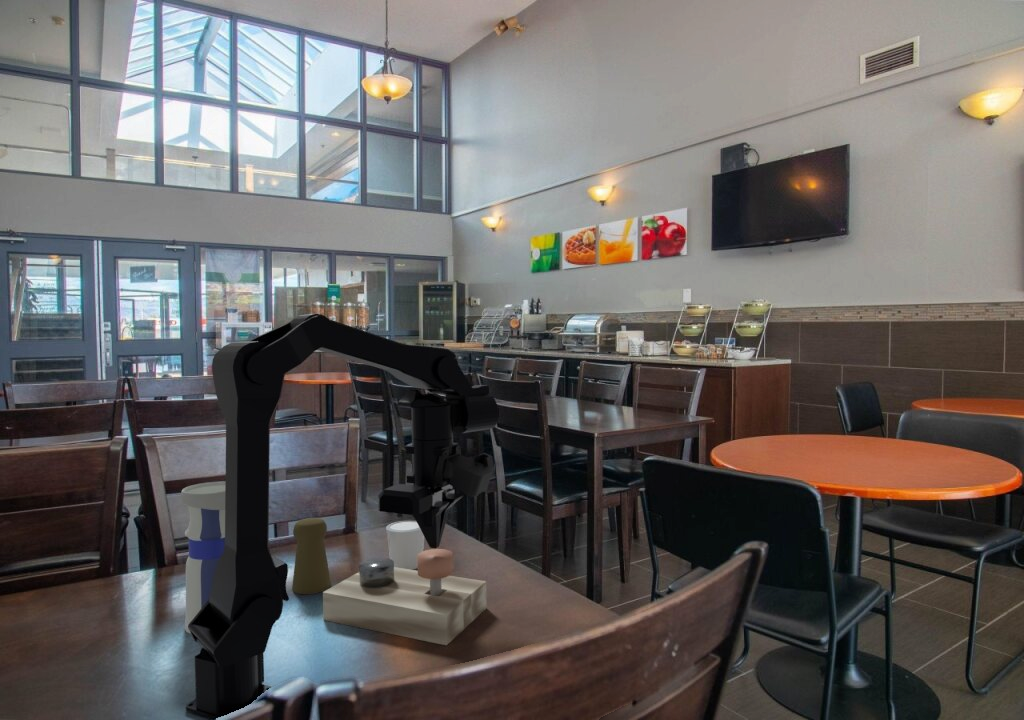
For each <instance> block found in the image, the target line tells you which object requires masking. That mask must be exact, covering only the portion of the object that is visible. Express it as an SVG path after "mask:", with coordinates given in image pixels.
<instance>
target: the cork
mask: <svg viewBox="0 0 1024 720" xmlns="http://www.w3.org/2000/svg"><path fill="white" fill-rule="evenodd" d="M327 530H328V527H327V523H326V521H325V519H323V518H320V517H307V518H303V519H302V518H301V519H300V520H298V521H297V522H295V524H294V525H293V529H292V533H293V534H292V535H293V538H294V540H295V541H296V548H295V550H296V551H295V560H294V567H293V576H292V577H293V579H292V586H291V590H292V592H293V593H295V594H299V595H311V594H312V595H313V594H316V593H320V592H321V593H322V592H324V591H326V590H328V589H330V588H331V585H332V583H331V577H330V570H329V563H328V557H327V551H326V547H325V546H326V545H325V537H326V536H327V532H328V531H327Z"/></svg>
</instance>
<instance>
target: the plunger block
mask: <svg viewBox="0 0 1024 720" xmlns="http://www.w3.org/2000/svg"><path fill="white" fill-rule="evenodd" d="M441 587H442V594H441V595H440V596H434V595H430V579H425V578H422V577H420V576H419V575H418V570H417V569H412V570H410V569H403V568H397V567H394V581H393V582H392V583H390V584H388V585H385V586H380V587H366V586H363V585H361V584H360V574H359V571H358V572H357V573H354V574H352V575H350V576H349V577H347V578H346V579H343V580H342V581H341V582H339V583H337V584H335V585H333V586H332V587H331V586H330V587H329V588H328V589H326V590H324V591H322V610H323V613H322V614H323V616H322V617H323V619H322V620H323V621H328V622H331V623H336V624H341V625H347V626H351V627H354V628H355V627H356V628H361V629H366V630H370V631H375V632H379V633H385V634H390V635H395V636H399V637H405V638H409V639H414V640H418V641H419V640H420V641H424V642H427V643H433V644H438V645H442V646H448V644H450V643H451V642H452V641H453V640H454V639H455V638H456V637H457V636H458V635H460V634H461V633H462V632H463V631H464V630H465V629H466V628H467V627H468V626H469V625H470V624H471V623H473V622H474V621H475V620H476V619H477V618H478V617H479V616H480V615H481V614H482V613H483V612H484V611H486V609H487V605H488V604H487V581H486V580H479V579H474V578H467V577H461V576H454V575H450V576H448V577H445V578H441Z"/></svg>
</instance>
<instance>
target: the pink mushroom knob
mask: <svg viewBox="0 0 1024 720" xmlns="http://www.w3.org/2000/svg"><path fill="white" fill-rule="evenodd" d="M417 565H418V568H417V571H418V575H419V576H420V577H422V578H425V579H430V595H434V596H440V595H441V594H442V587H441V578H445V577H448V576H452V575H453V573H454V553H453V552H452V551H451V550H449V549H443V548H436V549H435V548H430V549H425V550H423V551H422V552H420V553H419V554H418V555H417Z"/></svg>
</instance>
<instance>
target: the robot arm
mask: <svg viewBox="0 0 1024 720" xmlns="http://www.w3.org/2000/svg"><path fill="white" fill-rule="evenodd" d="M316 351H319V352H324V353H327V354H330V355H333V356H336V357H340V358H343V359H347V360H351V361H354V362H358V363H361V364H365V365H367V366H371V367H375V368H378V369H380V370H384V371H386V372H387V373H390V374H391V376H393V377H394V378H396V379H397V380H399V381H401V382H402V383H405V384H407V385H409V386H411V387H412V388H416V389H408V390H407V391H406V394H405V395H404V396H403V397H401V398H400V399H399V401H398V402H396V403H397V406H398V407H399V408H406V409H407V408H409V409H411V444H410V445H406V446H405V453H406V454H409V455H412V458H411V459H412V473H410V474H407V475H406V483H407V484H406V483H405V484H404V483H403V484H402V483H398V484H395V485H391V486H389V487H386V488H384V489H383V490H382V491H381V492H380V493H378V496H377V501H378V502H377V504H378V512H383V513H391V514H401V515H402V514H403V515H409V516H412V517H413V518H414V519H415V520H414V521H416V522H417V524H418V525H419V527H420V529H421V531H422V533H423V535H424V540H425V541H426V542H427V544H428V546H429V548H430V549H438V548H439V547H440V545H441V541H442V537H443V534H444V531H445V527H446V523H447V519H448V516H449V513H450V510H451V508H452V507H453V506H454V505H455V504H456V503H457V502H458V501H459V500H460V499H461V500H462V498H463V497H464V495H463V494H462V493H455V488H456V489H457V490H460V491H461V492H463V493H464V494H465V495H467V496H468V497H472V498H473V497H474V498H475V497H477V496H479V495H480V494H481V493H485V492H487V490H488V486H489V483H490V480H491V479H493V478H496V477H495V476H496V473H495V469H496V468H495V466H494V460H493V456H492V455H491V454H489V453H487V452H482V453H480V454H477V456H476V457H474V459H473V456H468V457H467V456H465V455H463V454H462V450H461V449H462V448H461V445H460V443H459V442H454V433H456V434H467V433H472V432H473V433H474V432H480V431H486V430H492V429H493V428H495V426H496V425H497V423H498V421H499V417H500V408H499V407H498V403H497V401H496V399H495V397H494V396H493V395H492V394H491V393H490V386H489V385H487V384H475V385H473V386H472V384H470V381H469V380H468V379H467V376H466V374H464V372H463V370H462V369H461V367H460V365H459V362H458V359H457V355H456V353H455V352H454V351H453V350H451V349H448V348H443V347H437V346H427V345H417V344H416V345H415V344H414V345H413V344H404V343H401V342H398V341H396V340H392V339H390V338H387V337H383V336H381V335H378V334H374V333H371V332H369V331H366V330H362V329H359V328H357V327H354V326H351V325H348V324H346V323H345V324H344V323H342V322H339V321H335V320H333V319H331V318H328V317H327V316H325V315H324V314H322V313H321V314H320V313H310V314H309V313H307V314H301V315H297V316H295V317H294V318H292V320H290V321H288V322H285V324H283V325H281V326H277V327H276V328H274V329H272V330H269V331H267V332H265V333H262V334H260V335H258V336H256V337H254V338H252V339H251V340H249V341H234V342H229V343H228V344H225V345H223V346H222V347H221V348H220V349H218V350H217V352H216V353H215V354H214V356H213V358H212V362H211V372H212V378H213V383H214V390H215V396H216V398H217V402H218V403H219V406H220V409H221V412H222V415H223V417H224V420H225V546H224V551H223V553H222V555H221V557H220V560H219V562H218V564H217V566H216V569H215V571H214V577H213V582H212V587H211V592H210V599H209V600H208V601H207V603H206V604H205V605H204V606H203V607H202V609H201V610H200V611H199V612H198V614H197V615H196V616H195V617H194V619H193V620H192V621H191V622H190V623H189V625H188V629H189V631H190V633H191V634H190V635H191V637H192V639H193V640H194V641H195V642H196V643H198V644H199V646H200V647H201V649H200V651H199V653H198V654H197V655H195V656H194V679H195V680H194V681H195V686H194V687H195V699H192V701H190V702H188V703H186V705H185V711H186V712H188V713H191V714H195V715H198V716H202V717H205V718H208V719H211V720H215V719H216V718H218V717H221V716H224V715H227V714H229V713H231V712H234V711H236V710H239V709H241V708H244V707H245V706H247V705H249V704H251V703H252V702H253V701H254V700H256V699H257V697H258V696H260V695H261V694H262V693H264V692H265V691H266V690H268V689H269V688H271V687H272V686H271V685H270V686H269V685H268V684H267V685H266V684H263V683H264V682H265V667H264V666H265V665H264V663H265V662H264V653H265V652H266V648H267V646H268V642H269V639H270V635H271V633H272V629H273V626H274V624H275V623H276V622H277V621H278V620H280V618H281V616H282V613H283V607H284V601H285V602H288V601H289V600H290V596H289V594H288V592H287V579H288V573H289V569H288V568H289V567H288V563H287V562H284V561H283V560H282V559H279V558H278V557H276V556H274V555H272V554H271V550H270V545H269V542H270V541H269V535H270V533H269V531H270V529H269V528H270V521H269V520H270V515H269V514H270V512H269V511H270V449H271V448H270V447H271V446H270V443H271V441H270V436H271V435H270V434H271V432H270V431H271V428H270V427H271V420H272V418H273V416H274V414H275V411H276V409H277V407H278V404H279V402H280V400H281V397H282V392H283V387H284V381H285V375H286V373H288V372H290V371H291V370H293V369H295V368H297V367H299V366H300V365H301V364H303V363H304V361H306V360H307V359H308V358H309V357H311V355H312V354H314V353H315V352H316ZM418 389H424V390H425V391H427V392H428V393H421V392H420V390H418ZM442 395H444V396H445V398H443V396H442Z"/></svg>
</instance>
